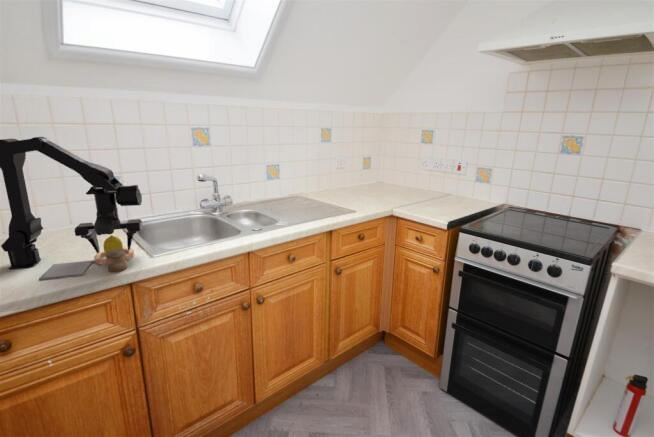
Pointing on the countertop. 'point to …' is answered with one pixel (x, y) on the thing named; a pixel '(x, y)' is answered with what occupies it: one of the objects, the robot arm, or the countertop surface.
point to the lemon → (112, 243)
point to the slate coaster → (66, 270)
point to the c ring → (101, 260)
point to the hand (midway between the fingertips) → (114, 251)
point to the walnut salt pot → (116, 260)
